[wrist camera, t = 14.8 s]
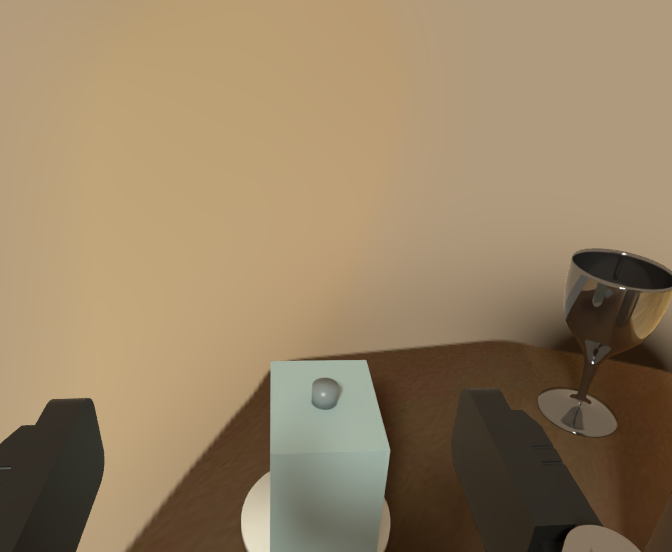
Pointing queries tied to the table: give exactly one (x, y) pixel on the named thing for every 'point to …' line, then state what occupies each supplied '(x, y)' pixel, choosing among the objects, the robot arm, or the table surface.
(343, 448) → the cloche
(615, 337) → the wine glass
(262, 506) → the plate
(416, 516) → the table surface
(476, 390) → the robot arm
